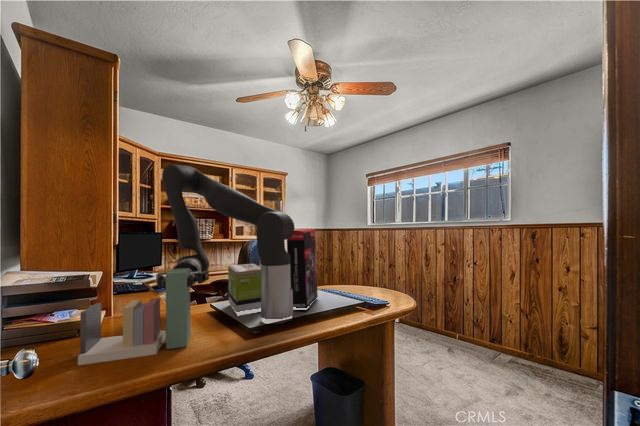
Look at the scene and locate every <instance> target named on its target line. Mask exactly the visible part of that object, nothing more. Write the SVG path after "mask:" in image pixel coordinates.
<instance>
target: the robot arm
mask: <svg viewBox="0 0 640 426" xmlns="http://www.w3.org/2000/svg"><path fill="white" fill-rule="evenodd" d="M161 180H162V184H163V188H164V190H165V195H166V197H167V201H168V203H169V204H168V205H169V207H170V210H171V212H172V215H173V218H174V222H175V223H174V224H175V226H176V232H177V240H178V245H179V248H180V249H181V250H192V251H194V252H195V254H192V255H184V256H182V257H179V258H178V259H177V261H176V264H175V265H174V266H173V268H172V269H181V268H190V276H189V277H188V278H187V287H190V288H191V286H193V285H196V283H197V284H203V283H205V282H206V281H208V280H210V273H209V272H210V270H209V269H210V261H209V258H208V257H207V256H208V255H206V253H205V251H204V248H203V245H202V242H201V238H200V237H201V236H200V231H199V225H198V222H197V220H196V217H194V215H193V213H192V211H191V210H190V209H189V208H188V206H187V204H186V202H185V199H184V197H183V196H184V195H183V192H191V193H195V194H196V195H198V196H199V195H200V196H201V197H203V198H204V199H205V201H206V203H207V204H208V206H209V207H210V208H211V209H212V210H214V211H216V212H218V213H219V214H222V215H224V216H225V217H228V218H230V219H234V220H237V221H241V222H245V223H248V224H251V225H253V226H256V228H255V229H256V248H257V255H258V257H259V262H260V265H259V267H260V272H261V313H260V318H261V317H262V318H265V319H283V318H287V317H290V316H293V317H294V311H293V290H292V288H291V258H290V254H289V253H287V250H286V248H285V247H286V246H285V243H286V242H285V241H287V239H288V238H289V237H291V236H292V234H293V233H294V230H295V223H294V221H293V219H292V218H291V216H290V215H288V214H287V213H286V212H282V211H279V210H276V209H273V208H271V207H269V206H265V205H264V204H261V203H260V202H258V201H257V200H254V199H253V198H251V197H249V196H247V195H246V194H244V193H242V192H240V191H238V190H237V189H235V188H232V187H231V186H228V185H226V184H223V183H222V182H219V181H218V180H215V179H212V178H210V177H208V176H207V175H206V174H204V173H203V172H201V171H199V169H196V168H194V167H193V166H191V165H182V164H181V165H180V164H168V165H166V166H165V167H164V168H163V170H162V173H161ZM155 278H156V279H155V280H156V281H155V283H156V286H157V287H158V288H161V287H162V288H164V289H165V290H166V275H164V274H162V273H156V274H155Z"/></svg>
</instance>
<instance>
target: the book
mask: <svg viewBox="0 0 640 426" xmlns="http://www.w3.org/2000/svg"><path fill="white" fill-rule="evenodd" d="M165 276H166V289H165V329H166V330H165V340H166V341H165V342H166V345H165V346H166V348H165V349H166V350H172V349H178V348H185V347H188V345H189V341H190V339H191V338H190V337H191V335H192V334H191V333H192V332H191V286H190V287H187V278H188V277H189V276H190V268H181V269H173V268H171V269H169V270H168V271H167V272H166V273H165Z"/></svg>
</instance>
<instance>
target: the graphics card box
mask: <svg viewBox="0 0 640 426" xmlns="http://www.w3.org/2000/svg"><path fill="white" fill-rule="evenodd" d="M286 247H287V248H286V249H287V250H286V252H287V253H289V254H290V258H291V288H292V290H293V307H296V308H307V307H308V306H310V304H311V303H312V302H313V301H314V300H315V299H316V298H317V297H319V296H318V274H317V273H318V272H317V249H316V229H312V228H311V229H309V228H307V229H304V228H303V229H301V228H300V229H294V233H293V234H292V236H291V237H289V238H288V239H286ZM317 299H318V298H317ZM317 299H316V300H317ZM316 300H315V301H316Z"/></svg>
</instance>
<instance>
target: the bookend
mask: <svg viewBox="0 0 640 426" xmlns="http://www.w3.org/2000/svg"><path fill="white" fill-rule="evenodd" d="M79 314H80V319H79V320H80V323H79V324H80V328H79V329H80V331H79V333H80V335H79V336H80V337H79V339H80V340H79V341H80V343H79V345H80V347H79V350H80V353H79V355H80V354H85V353H87V352H88V351H89V350H90V349H91V348H92V347H93V346H94V345H95V344H97V343H98V342H99V341H100V340H101V338H102V302H96V303H94V304H92V305H91V306H89V307H87V308H85V309H83V310H82V311H81V312H80V313H79Z"/></svg>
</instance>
